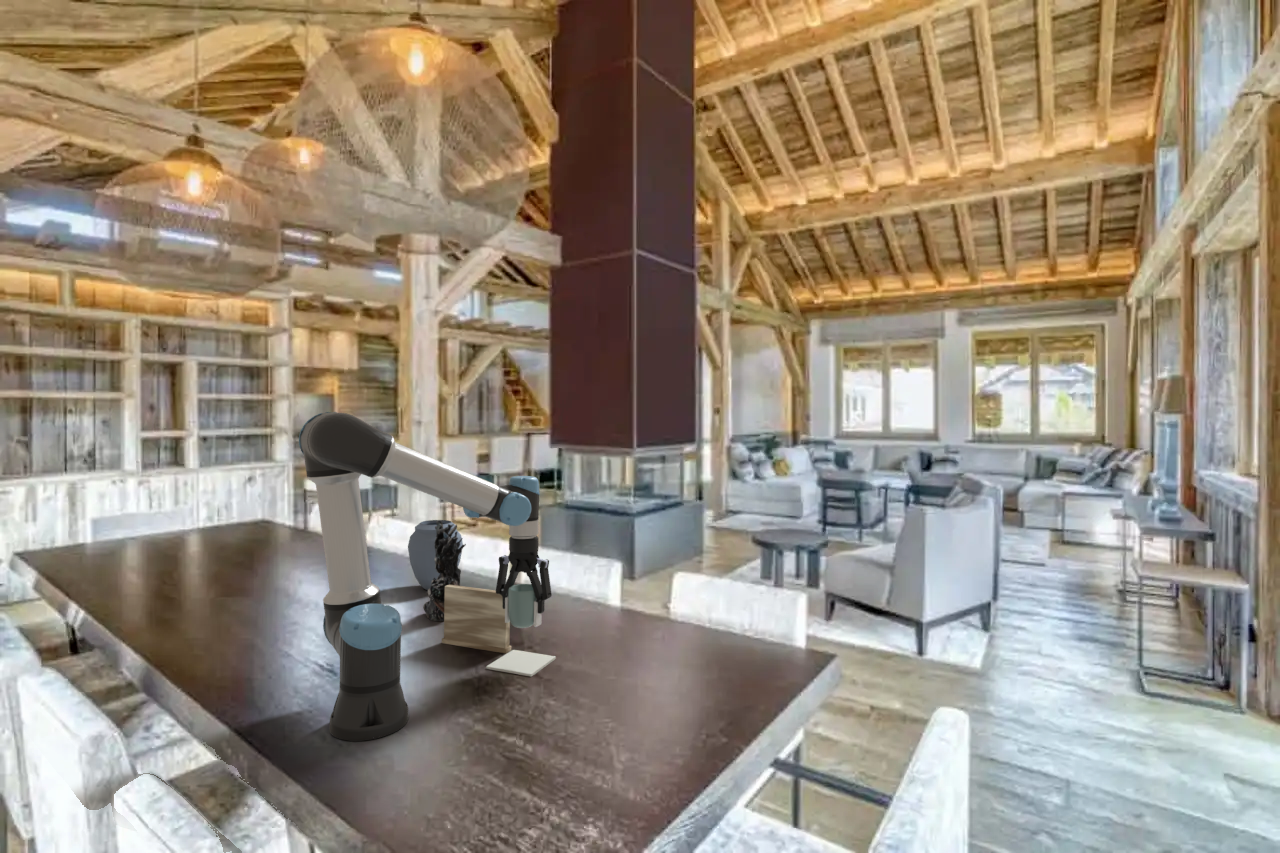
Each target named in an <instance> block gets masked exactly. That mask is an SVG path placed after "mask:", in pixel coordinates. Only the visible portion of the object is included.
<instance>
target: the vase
mask: <svg viewBox="0 0 1280 853" xmlns="http://www.w3.org/2000/svg"><path fill="white" fill-rule="evenodd" d="M438 520H439V519H432V520H431V519H429V520H423V521H421V522H419V523H418V524H417V525H415V526H414V531H413V533H412V534H411V535H410V536H409V541H408V543H407V544H408V545H407V549H408V550H407V551H408V557H409V558H408V559H409V563H410V567H411V569H412V572H413V574H414V578H415V580H417V582H418V584H419V585H420V586H421V588H422V589H424V590H426V591H428V590H429V589H430V588H431V582H432V579H433V578H435V579H437V577H438V576H439V575H440V573H437V571H436V569H435V554H436V551H435V547H434V543H435V539H436V535H437V534H436V529H435V526H437V523H436V521H438ZM440 520H441V521H442V524H443V529H444V528H446V527H448V524H450V525H452V524H454V525H453V526H452V527H451V529H450V531H451V530H452V529H453V528H454V526H456V524H455V523H454V522H452V521H451V520H447V519H440ZM457 528H458V527H457ZM457 528H456V530H455V531H454V533H453V534H452V536H451V537H454V536H455V532H457V531H458V529H457ZM450 531H449V533H450ZM457 538H458V539H457V541H456V543H457V542H459V541H460V540H461V539H462V538H463V537H462V534H461V533H460V531H458V532H457ZM459 544H460V546H459V548H460V547H461V546H462V545H464V542H463V539H462V540H461V542H460V543H459ZM459 548H458V549H459ZM462 553H463V552H462ZM462 553H460V554H459V556H458V558H459V559H458V563H457V566H458V567H459V565H460V563H461V559H462V558H461V557H462Z"/></svg>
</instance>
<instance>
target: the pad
mask: <svg viewBox="0 0 1280 853" xmlns="http://www.w3.org/2000/svg"><path fill="white" fill-rule="evenodd" d="M556 659H557V657H556V656H555V655H549V654H542V653H537V652H530V651H523V650H517V649H511V651H509V652H508V653H504V654H503V655H502V656H501V657H499V658H497V659H496V660H494V661H493V662H491V663H489V664H488V665H486V667H485V668H486V670H491V671H496V672H502V673H509V674H516V675H520V676H525V677H530V678H531V677H533V676H535V675H536V674H537V673H539V672H540V671H541V670H542V669H544V668H545V667H547V666H548V665H549V664H551V663H552V662H553V661H555V660H556Z"/></svg>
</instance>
